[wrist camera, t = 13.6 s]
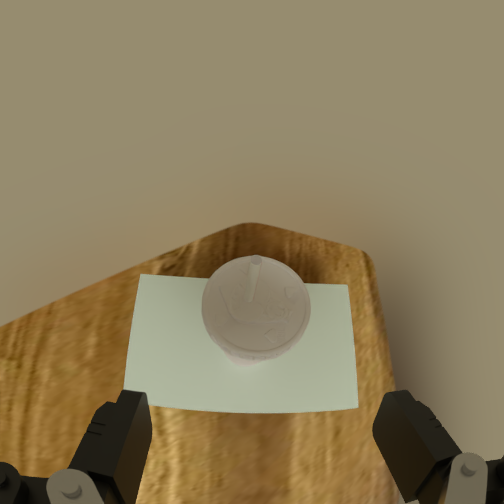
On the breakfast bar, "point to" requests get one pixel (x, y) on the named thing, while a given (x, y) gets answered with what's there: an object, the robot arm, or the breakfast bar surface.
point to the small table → (226, 372)
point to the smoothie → (255, 309)
